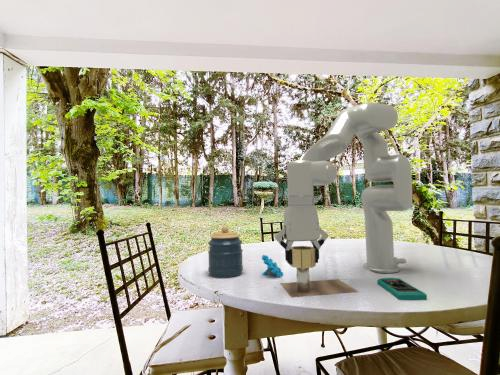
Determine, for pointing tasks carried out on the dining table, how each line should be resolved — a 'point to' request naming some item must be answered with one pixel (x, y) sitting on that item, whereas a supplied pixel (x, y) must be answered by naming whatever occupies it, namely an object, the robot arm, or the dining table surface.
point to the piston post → (303, 280)
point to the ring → (303, 257)
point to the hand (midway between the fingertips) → (302, 262)
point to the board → (319, 288)
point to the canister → (225, 254)
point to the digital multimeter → (401, 289)
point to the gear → (271, 266)
